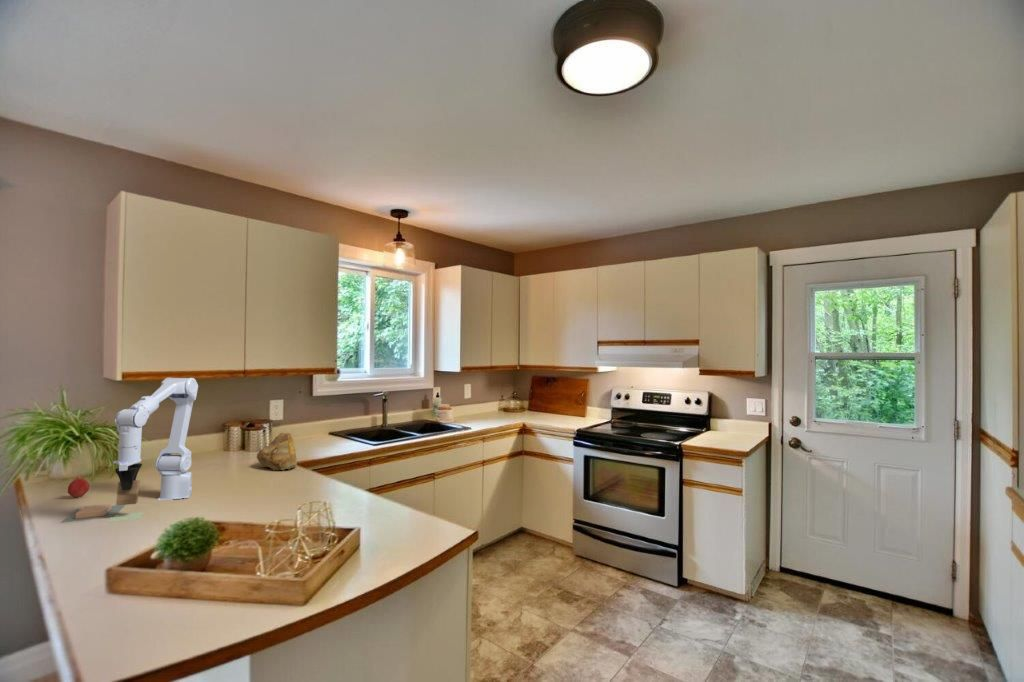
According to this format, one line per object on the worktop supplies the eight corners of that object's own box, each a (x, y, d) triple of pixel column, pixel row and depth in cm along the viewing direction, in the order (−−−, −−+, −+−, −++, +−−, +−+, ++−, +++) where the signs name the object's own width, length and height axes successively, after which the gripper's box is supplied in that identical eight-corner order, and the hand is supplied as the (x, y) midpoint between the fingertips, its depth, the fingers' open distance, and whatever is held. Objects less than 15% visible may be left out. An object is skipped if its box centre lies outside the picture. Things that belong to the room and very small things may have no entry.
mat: (125, 505, 164) (125, 504, 164) (113, 518, 152) (113, 516, 152) (77, 510, 158) (77, 509, 158) (60, 523, 146) (60, 522, 146)
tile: (111, 503, 159) (104, 510, 152) (111, 508, 159) (104, 516, 152) (84, 506, 156) (75, 513, 149) (84, 511, 156) (75, 519, 149)
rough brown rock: (257, 465, 230) (255, 434, 230) (294, 459, 238) (293, 430, 238) (257, 477, 210) (255, 444, 209) (298, 471, 218) (296, 438, 217)
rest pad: (144, 513, 157) (144, 511, 157) (139, 519, 150) (139, 518, 150) (113, 516, 153) (113, 515, 153) (107, 523, 147) (107, 521, 147)
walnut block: (137, 501, 155) (139, 480, 155) (135, 503, 152) (137, 482, 153) (118, 503, 152) (120, 481, 153) (116, 505, 150) (118, 483, 150)
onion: (63, 501, 168) (64, 478, 168) (73, 496, 173) (74, 474, 173) (82, 500, 169) (84, 477, 169) (92, 495, 175) (93, 473, 175)
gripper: (120, 443, 158) (118, 484, 157) (107, 451, 145) (105, 495, 144) (147, 441, 161) (145, 482, 160) (136, 449, 148) (134, 493, 147)
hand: (128, 488), depth 153 cm, fingers closed on walnut block, 3 cm apart
